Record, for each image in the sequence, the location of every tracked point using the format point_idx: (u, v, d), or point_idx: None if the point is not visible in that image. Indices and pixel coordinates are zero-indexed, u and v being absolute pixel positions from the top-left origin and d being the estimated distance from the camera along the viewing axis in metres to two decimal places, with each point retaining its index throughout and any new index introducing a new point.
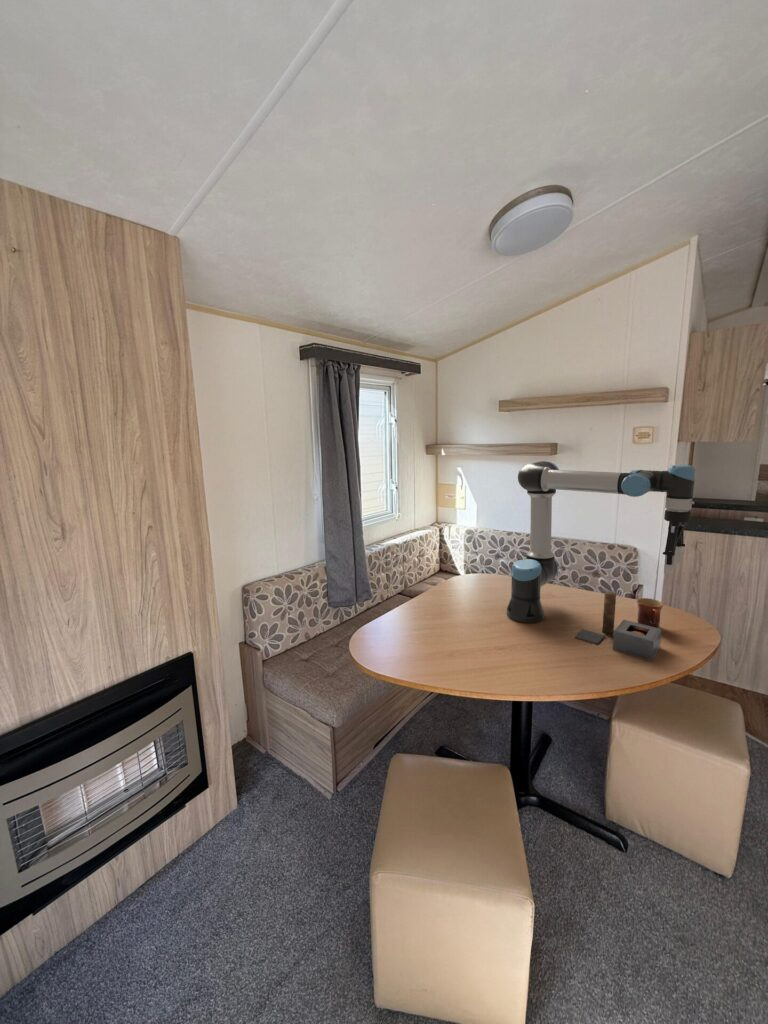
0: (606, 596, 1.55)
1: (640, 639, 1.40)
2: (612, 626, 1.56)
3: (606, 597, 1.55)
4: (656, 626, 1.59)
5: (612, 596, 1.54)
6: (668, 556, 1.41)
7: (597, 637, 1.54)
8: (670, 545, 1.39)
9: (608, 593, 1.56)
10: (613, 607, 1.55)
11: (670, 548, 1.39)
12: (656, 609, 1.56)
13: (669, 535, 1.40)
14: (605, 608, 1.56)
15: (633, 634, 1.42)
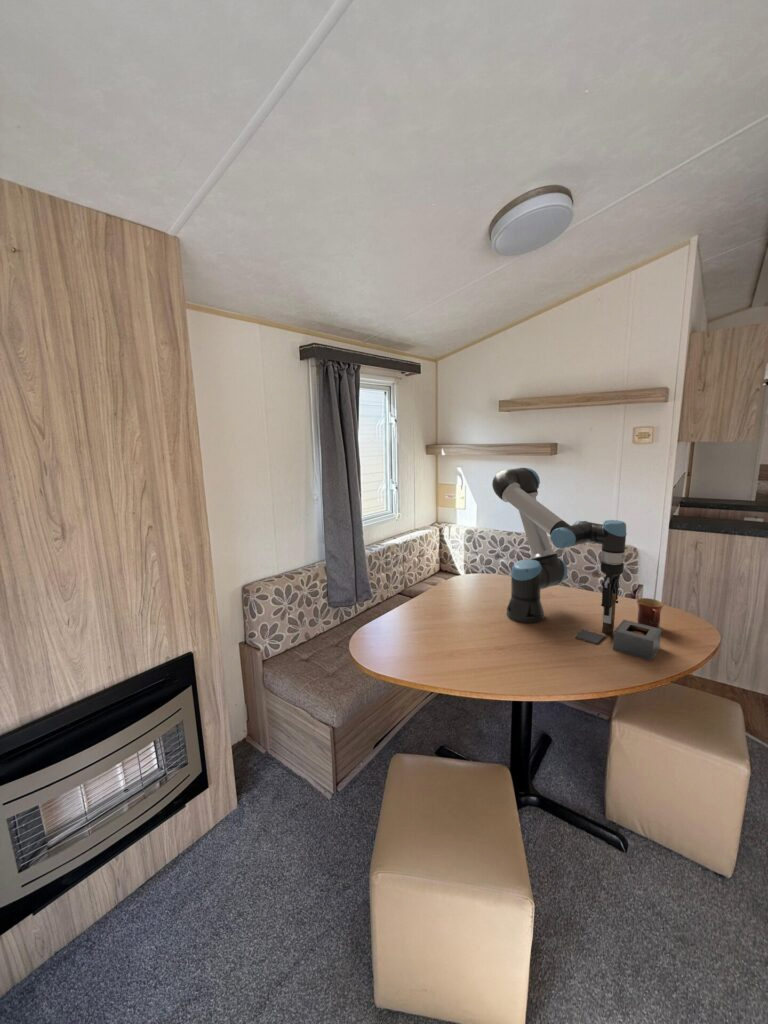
0: None
1: (640, 639, 1.40)
2: (612, 626, 1.56)
3: None
4: (656, 626, 1.59)
5: (612, 596, 1.54)
6: (605, 608, 1.54)
7: (597, 637, 1.54)
8: (605, 599, 1.52)
9: None
10: (613, 607, 1.55)
11: (606, 602, 1.52)
12: (656, 609, 1.56)
13: (604, 590, 1.52)
14: None
15: (633, 634, 1.42)
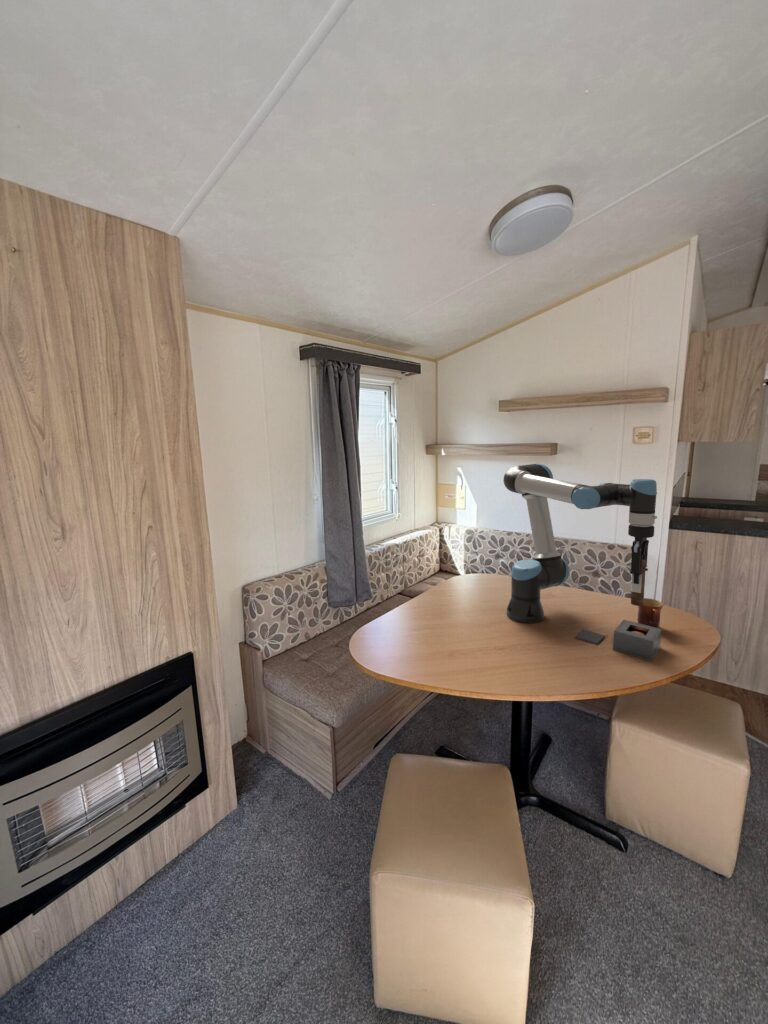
0: None
1: (640, 639, 1.40)
2: (642, 596, 1.43)
3: None
4: (656, 626, 1.59)
5: (642, 562, 1.41)
6: (635, 575, 1.41)
7: (597, 637, 1.54)
8: (635, 565, 1.39)
9: None
10: (643, 574, 1.42)
11: (636, 568, 1.39)
12: (656, 609, 1.56)
13: (633, 555, 1.38)
14: None
15: (633, 634, 1.42)
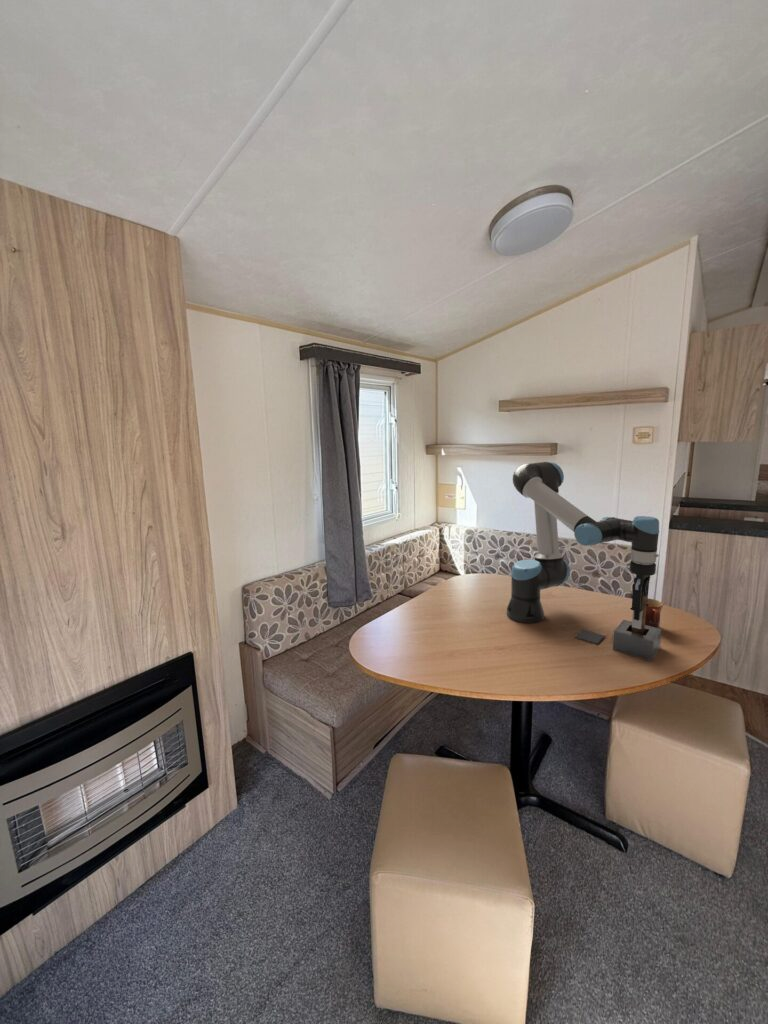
0: None
1: (640, 639, 1.40)
2: (642, 631, 1.44)
3: None
4: (656, 626, 1.59)
5: (643, 599, 1.42)
6: (635, 612, 1.42)
7: (597, 637, 1.54)
8: (636, 602, 1.39)
9: None
10: (644, 611, 1.42)
11: (636, 605, 1.40)
12: (656, 609, 1.56)
13: (634, 592, 1.39)
14: None
15: (633, 634, 1.42)
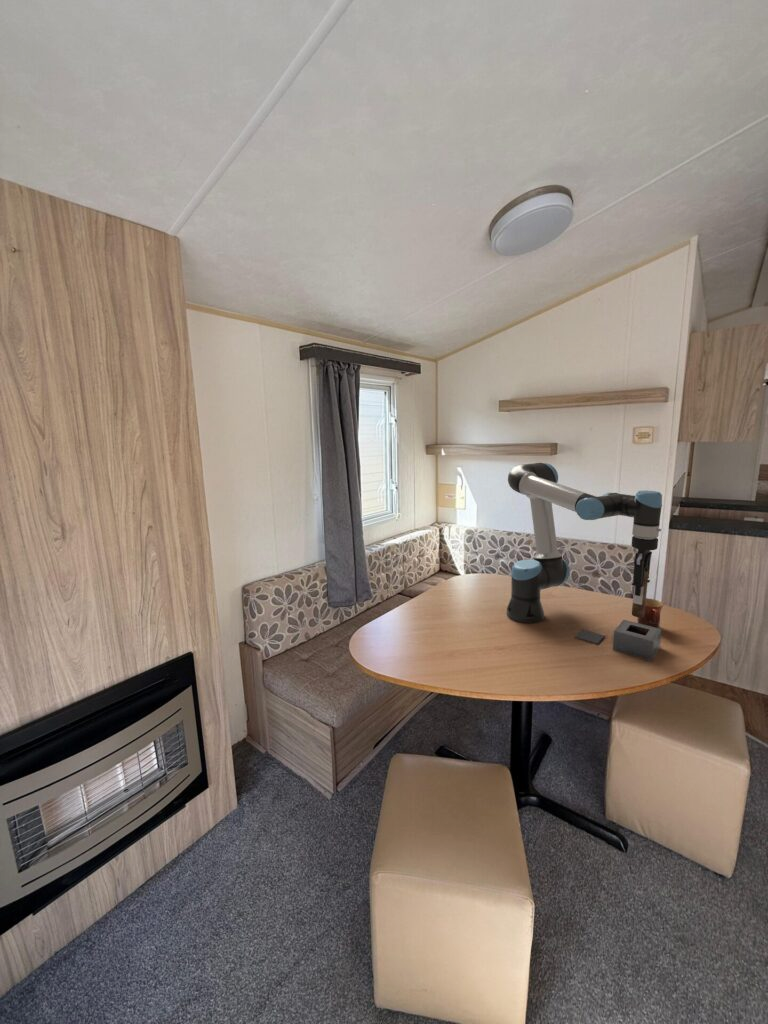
0: None
1: (640, 639, 1.40)
2: (643, 607, 1.43)
3: None
4: (656, 626, 1.59)
5: (645, 574, 1.40)
6: (636, 587, 1.40)
7: (597, 637, 1.54)
8: (637, 577, 1.38)
9: None
10: (645, 586, 1.41)
11: (638, 580, 1.38)
12: (656, 609, 1.56)
13: (635, 567, 1.38)
14: None
15: (633, 634, 1.42)
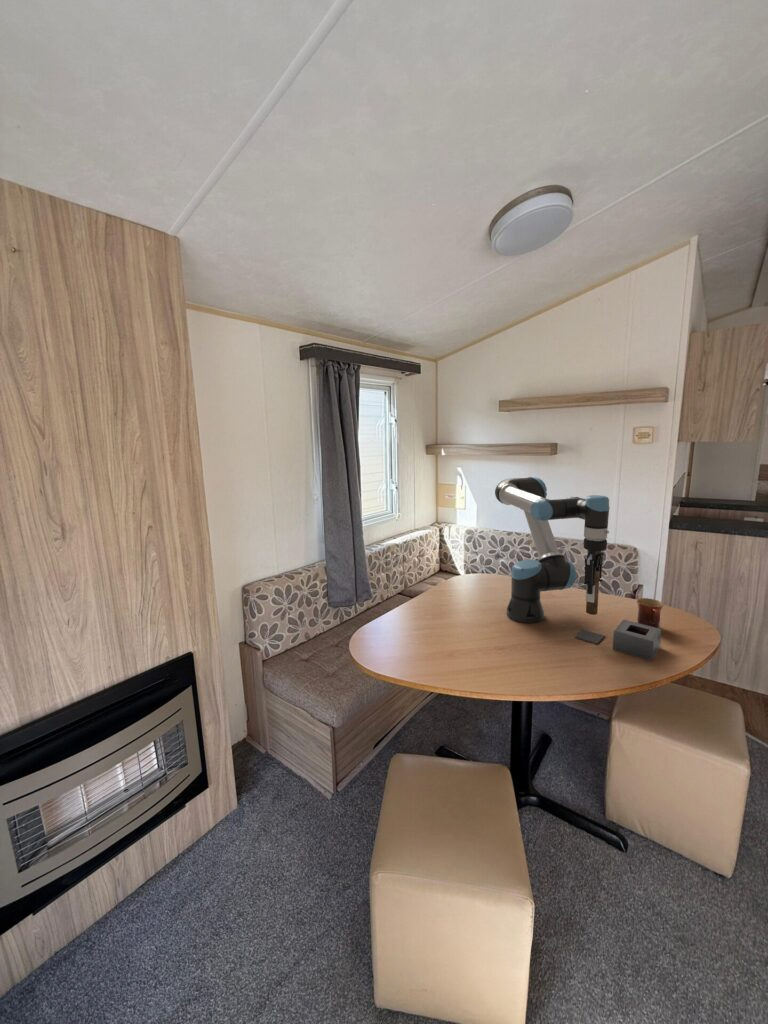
0: None
1: (640, 639, 1.40)
2: (596, 605, 1.51)
3: None
4: (656, 626, 1.59)
5: (596, 574, 1.49)
6: (588, 586, 1.49)
7: (597, 637, 1.54)
8: (588, 577, 1.47)
9: None
10: (596, 585, 1.50)
11: (589, 579, 1.47)
12: (656, 609, 1.56)
13: (586, 567, 1.47)
14: None
15: (633, 634, 1.42)
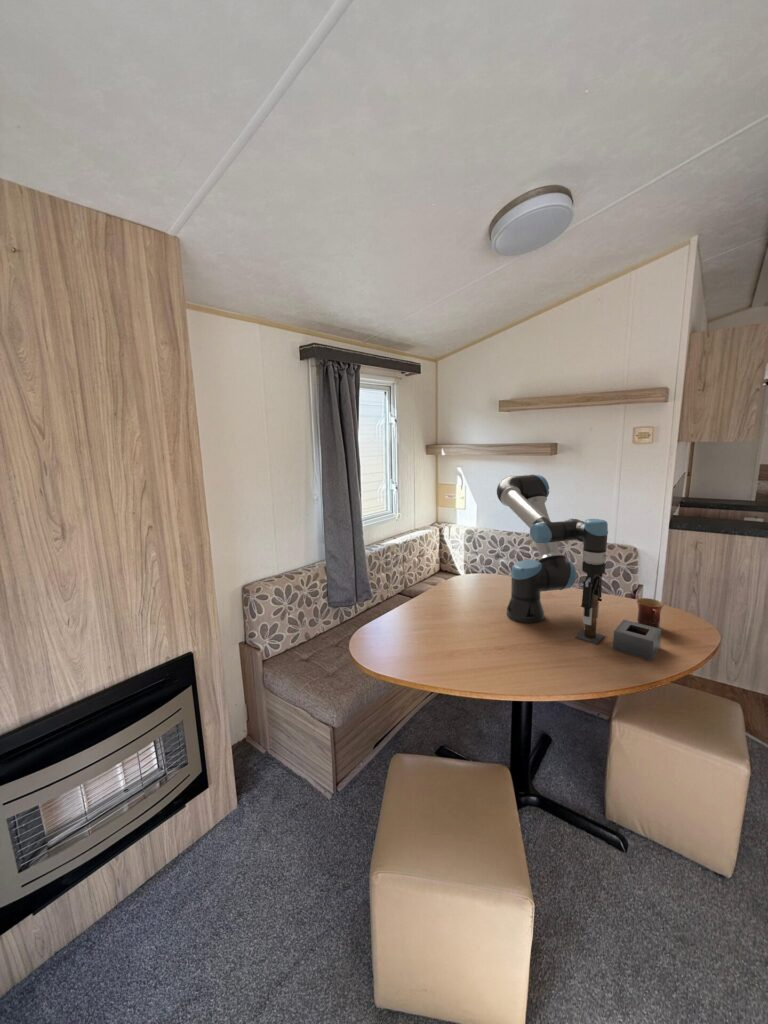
0: None
1: (640, 639, 1.40)
2: (594, 629, 1.53)
3: None
4: (656, 626, 1.59)
5: (594, 598, 1.51)
6: (585, 609, 1.50)
7: (597, 637, 1.54)
8: (586, 599, 1.48)
9: None
10: (595, 609, 1.52)
11: (586, 602, 1.48)
12: (656, 609, 1.56)
13: (584, 590, 1.48)
14: None
15: (633, 634, 1.42)
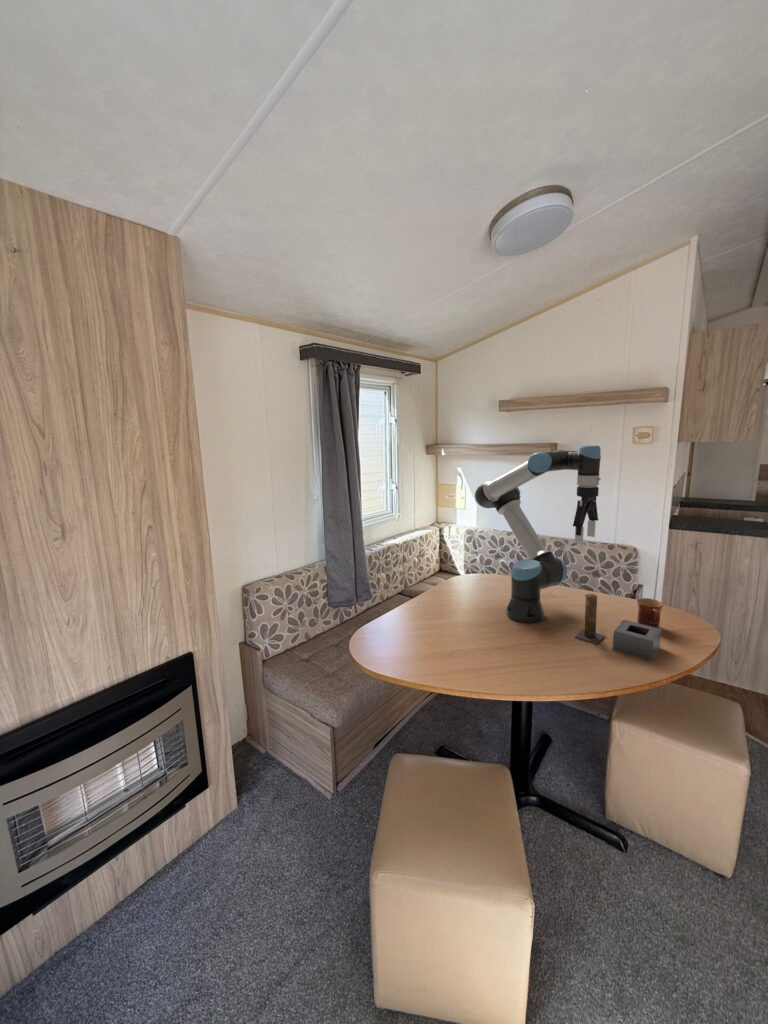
0: (587, 598, 1.52)
1: (640, 639, 1.40)
2: (594, 629, 1.53)
3: (587, 599, 1.52)
4: (656, 626, 1.59)
5: (593, 598, 1.51)
6: (577, 527, 1.55)
7: (597, 637, 1.54)
8: (578, 517, 1.54)
9: (589, 595, 1.53)
10: (594, 609, 1.52)
11: (578, 520, 1.54)
12: (656, 609, 1.56)
13: (578, 508, 1.55)
14: (586, 610, 1.53)
15: (633, 634, 1.42)
